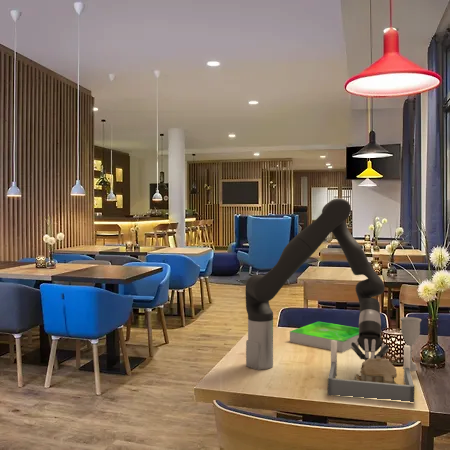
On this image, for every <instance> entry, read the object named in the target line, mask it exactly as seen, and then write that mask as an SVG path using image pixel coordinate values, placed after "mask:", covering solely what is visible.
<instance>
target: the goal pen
mask: <svg viewBox="0 0 450 450" xmlns="http://www.w3.org/2000/svg"><path fill="white" fill-rule="evenodd" d="M403 367H404V369H403V383H405V384H401V383H400V384H399V383H397V384H390V383H379V382H368V381H357V380H354V379H343V378H336V377H337V375H338V373H337V372H338V369H337V368H338V351H337V341H336V340H331V350H330V369H329V373H328V377H327V378H328V379H327V396H331V395H340V396H339V397H341V396H353V397H364V398H377V399H391V400H401V401H410V402H414V403H415V386H414V385H415V384H414V380H413V377H412V374H411V371H410V346H409V345H408V344H407V345H406V344H405V345H404V346H403Z"/></svg>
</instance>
